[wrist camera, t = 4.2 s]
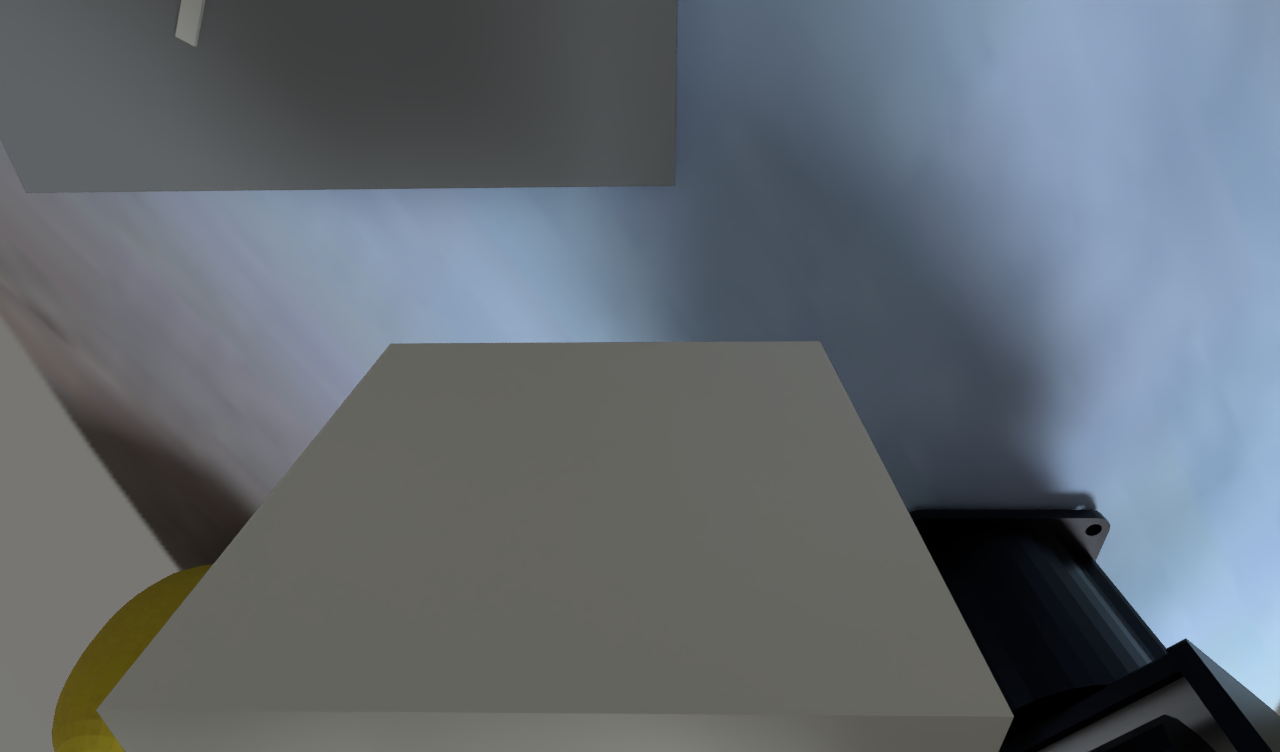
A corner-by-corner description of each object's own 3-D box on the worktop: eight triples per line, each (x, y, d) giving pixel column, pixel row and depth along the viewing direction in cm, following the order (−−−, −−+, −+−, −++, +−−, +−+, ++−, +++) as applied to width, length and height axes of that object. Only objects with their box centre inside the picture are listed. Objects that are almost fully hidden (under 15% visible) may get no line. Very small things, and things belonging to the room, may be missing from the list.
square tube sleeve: (820, 341, 8) (1031, 751, 4) (769, 708, 12) (843, 1139, 7) (391, 343, 8) (69, 744, 4) (474, 706, 12) (364, 1128, 7)
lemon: (308, 643, 25) (176, 881, 18) (165, 586, 24) (-38, 820, 17) (359, 558, 23) (229, 793, 16) (203, 490, 22) (-13, 714, 15)
